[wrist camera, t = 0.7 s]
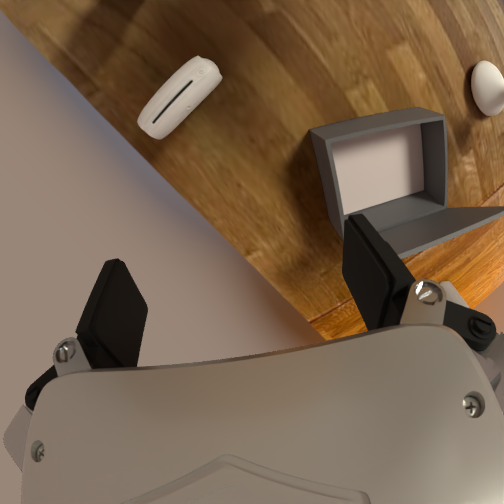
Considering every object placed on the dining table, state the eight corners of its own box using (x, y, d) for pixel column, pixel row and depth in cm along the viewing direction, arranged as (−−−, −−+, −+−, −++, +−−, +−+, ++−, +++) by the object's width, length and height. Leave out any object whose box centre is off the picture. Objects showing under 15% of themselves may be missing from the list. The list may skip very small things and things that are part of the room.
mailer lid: (385, 259, 24) (386, 265, 24) (513, 206, 22) (514, 211, 22) (343, 243, 40) (344, 247, 40) (447, 207, 38) (448, 211, 38)
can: (430, 284, 59) (454, 318, 49) (452, 275, 58) (476, 306, 49) (425, 304, 63) (446, 337, 54) (446, 295, 63) (467, 326, 53)
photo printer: (204, 57, 30) (196, 46, 20) (227, 77, 32) (229, 75, 22) (152, 111, 33) (123, 126, 23) (174, 129, 35) (154, 151, 25)
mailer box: (308, 129, 37) (324, 140, 31) (418, 106, 35) (445, 115, 29) (329, 220, 46) (344, 243, 40) (424, 190, 44) (446, 208, 38)
